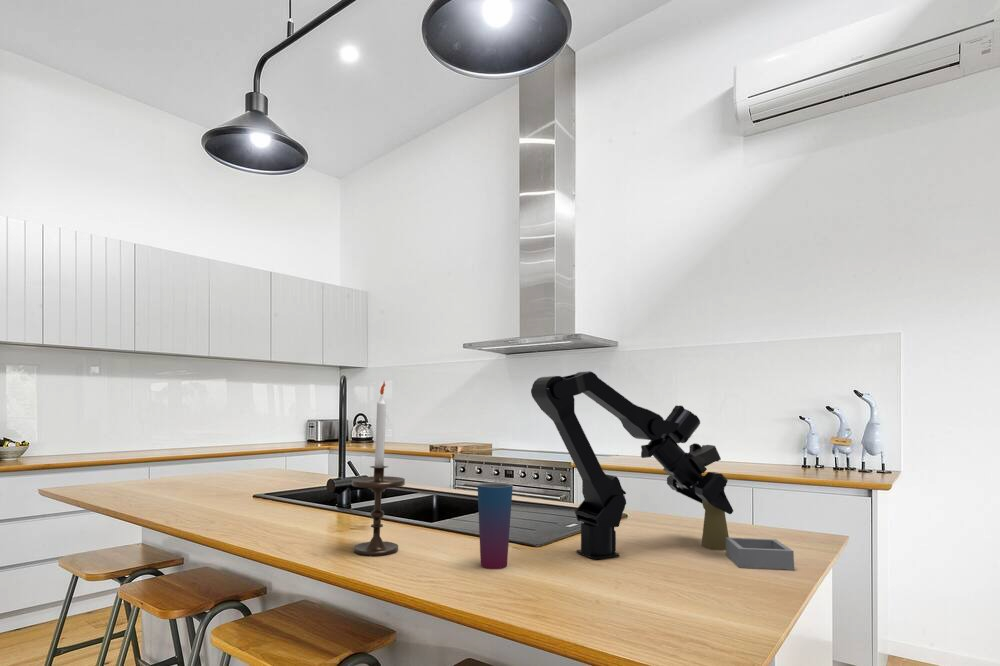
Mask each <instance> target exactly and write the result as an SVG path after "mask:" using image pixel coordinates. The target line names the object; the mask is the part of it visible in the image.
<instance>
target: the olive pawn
mask: <svg viewBox="0 0 1000 666" xmlns="http://www.w3.org/2000/svg"><path fill="white" fill-rule="evenodd" d="M701 504H702V508H703V509H704V516H703V517H704V519H703V526H702V527H703V529H702V536H701V537H702V538H701V546H700V547H702V548H704V549H709V550H714V551H726V537H729V531H728V524H727V517H726V512H724V511H722V510H720V509H718V508H716V507H714V506H712V505H710V504H708V503H706V502H704V501H702V503H701Z"/></svg>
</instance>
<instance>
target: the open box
mask: <svg viewBox="0 0 1000 666" xmlns="http://www.w3.org/2000/svg"><path fill="white" fill-rule="evenodd" d="M794 553H795V552H794V550H793V549H792V548H789V547H788V546H786V545H785V544H783V543H782V542H781V541H779V540H777V539H774V538H751V537H726V550H725V555H726V556H727V557H728V558H729V559H730V560H731V561H732V562H733V564H735V565H736V566H737V567H738V568H740V569H757V568H762V570H778V569H785V570H784V571H795V558H794V557H795V554H794ZM763 568H764V569H763ZM786 569H787V570H786Z"/></svg>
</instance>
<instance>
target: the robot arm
mask: <svg viewBox="0 0 1000 666" xmlns="http://www.w3.org/2000/svg"><path fill="white" fill-rule="evenodd" d="M530 393H531V398H532V399H533V400H534V402H535V403H536V404H537V406H538V407H539V409H540V410H541V411H542V412H543V413H544V414H545V415H546V416H547V417H548V418H549V419H551V421H552V422H553V424H554V425H555V428H556V430H557V431H558V434H559V436H560V437H561V440H562V443H563V444H564V446H565V448H566V451H568V454H569V455H570V456H569V457H570V458H571V460H572V462H573V464H574V465H575V468H576V470H577V472H578V474H579V476H580V478H581V481H582V483H581V485H582V487H581V489H582V491H581V493H582V495H583V500H582V501H581V503H580V504H579V506H578V507H577V508H576V510H575V511H574V514H575V517H576V520H577V521H578V522H581V523H580V549H576V553H577V554H579V555H582V556H585V557H587V558H589V559H593V560H601V559H607V558H609V559H610V558H615V557H620V553H618V552H617V551H616V549H617V546H616V545H617V539H616V538H617V534H616V533H617V532H616V530H615V528H619V527H620V524H621V520H622V517H623V513H624V511H625V508H626V505H627V499H626V496H625V495H626V494H627V492H626V491H625V490H624V488H623V487H622V485H621V482H620V479H619V478H618V476H616V475H615V476H614V475H610V474H606V473H605V471H604V470H603V468H602V466H601V463H600V462H599V460H598V458H597V455H596V454H595V451H594V450H593V447H592V445H591V444H590V441H589V439H588V437H587V435H586V434H585V431H584V429H583V426H582V425H581V423H580V421H579V419H578V416H577V415H576V412H575V397H574V396H578V395H580V394H584V395H585V396H586V397H588V398H590V399H591V400H592V401H594V402H595V403H596V404H598V405H599V406H600V407H602V408H603V409H604V410H606V411H607V412H609V413H610V414H612V415H613V416H615V417H616V418H617V420H619V421H620V423H621V424H622V427H623V428H624V429H625V430H626V432H628V434H629V435H630V436H631V437H632V438H635V439H637V440H647V441H649V442H648V443H647V444H642V445H640V448H641V452H640V453H641V454H640V457H641V458H642V459H646V458H651V457H653V458H654V459H655V460H656V461H657V463H659V464H660V465H661V466H662V467H663V469H662V470H663V471H664V472H665V473H666V474H669V475H668V476H667V477H666V484H667V485H668V486H669V488H670V489H671V490H673V491H676V493H679V494H681V495H683V496H685V497H687V498H689V499H691V500H693V501H695V502H697V503H700V504H702V501H704V502H706V503H708V504H710V505H712V506H714V507H716V508H718V509H720V510H722V511H724V512H725V514H729V515H731V514H733V513H734V509H733V506H732V505H731V504H730V503H731V502H730V501H729V499H728V496H727V495H726V493H725V492H726V491H725V488H726V487H727V484H728V481H729V480H728V479H727V477H726V476H724V474H723V473H719V472H715V471H707V470H708V468H707V467H708V466H709V465H711V464H713V463H715V462H719V461H721V456H720V453H719V452H718V449H717V447H716V445H712V444H702V445H701V444H699V443H696V442H695V443H692V444H690V445H689V452H685V450H684V449H682V448H681V446H680V445H679V444H686V443H687V442H688V441H689V440H690V438H691V437H692V435H693V434H694V433H695V432H696V430H697V429H698V428H699V426H700V424H701V420H700V419H699V417H698V416H697V414H694V412H691V411H690V410H689V409H686V408H685V407H684V406H683V405H675V406H674V407H673V409H672V410H671V412H670V413H669V415H668V416H667V417H666V418H665V419H664V418H663V416H661V414H659V413H656V412H654V411H652V410H650V409H648V408H645V407H642V406H639V405H637V404H634V403H633V402H631V400H630V399H628V398H626V397H625V396H623V395H622V394H621V393H620V392H618V391H617V390H616V389H614V388H613V387H611V386H610V385H609V384H607V382H604V381H603V380H602V379H601V378H600V377H598V375H597V374H596V373H594V372H592V371H591V370H589V371H579V372H578V371H577V372H576V373H574V374H569V375H566V376H565V375H564V376H561V375H554V376H553V375H552V376H541V377H538V378H537V379H535V380H534V382H533V383H532V386H531V389H530ZM706 471H707V473H705V472H706ZM704 473H705V475H703V474H704Z"/></svg>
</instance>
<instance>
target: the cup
mask: <svg viewBox="0 0 1000 666" xmlns="http://www.w3.org/2000/svg"><path fill="white" fill-rule="evenodd" d="M513 486H514V484H512V483H508V482H507V483H506V482H498V481H497V482H495V481H493V482H480V483H478V484H477V505H478V506H477V507H478V528H479V529H478V530H479V532H478V533H479V534H478V535H479V553H480V555H479V558H480V566H481V567H482V568H484V569H487V570H488V569H489V570H498V569H499V570H500V569H505V568H507V566H508V559H509V558H508V555H509V543H510V541H509V540H510V530H511V529H510V526H511V516H512V514H511V513H512V512H511V511H512V503H513V490H514V489H513Z"/></svg>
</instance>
